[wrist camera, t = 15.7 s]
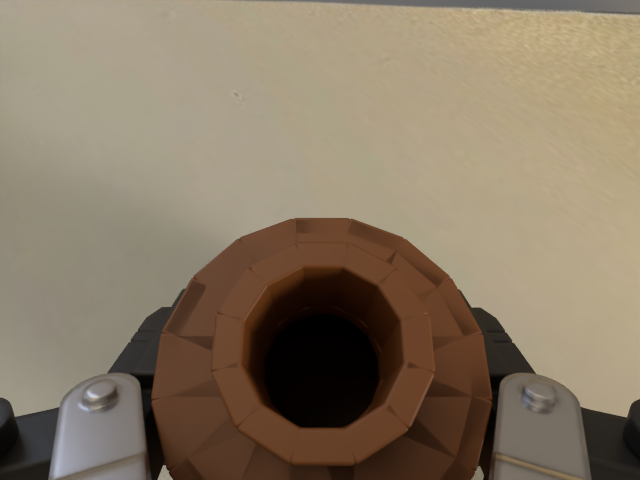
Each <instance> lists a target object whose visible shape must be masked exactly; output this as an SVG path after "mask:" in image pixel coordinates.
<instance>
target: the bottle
mask: <svg viewBox="0 0 640 480" xmlns="http://www.w3.org/2000/svg"><path fill="white" fill-rule="evenodd" d="M481 333H482V332H481V329H480V328H479V326H478V324H477V322H476V321H475V319H474V317H473V315H472V313H471V312H470V310H469V308H468V306H467V305H466V303H465V301H464V299H463V298H462V296H461V294H460V292H459V290H458V289H457V287H456V285H455V283H454V282H453V280H452V279H451V278H450V276H449V275H448V274H447V273H445V272H444V271H443V270H442V269H441V268H439V267H438V266H437V265H436V264H435V263H434V262H432V261H431V260H430V259H429V258H428V257H426V256H425V255H424V254H423V253H422V252H421V251H419V250H418V249H417V248H416V247H415V246H413V245H412V244H411V243H410V242H409V241H407V240H406V239H404V238H403V237H400V236H398V235H395V234H392V233H389V232H387V231H384V230H381V229H378V228H376V227H373V226H370V225H367V224H365V223H362V222H359V221H357V220H354V219H349V218H294V220H293V219H289V220H287V221H284V222H281V223H278V224H276V225H273V226H270V227H267V228H265V229H262V230H259V231H256V232H254V233H251V234H248V235H245V236H243V237H240V239H237V240H236V241H235V242H233V243H232V244H231V245H230V246H229V247H227V248H226V249H225V250H224V251H223V252H221V253H220V254H219V255H218V256H217V257H216V258H214V259H213V260H212V261H211V262H210V263H208V264H207V265H206V266H205V267H204V268H203V269H201V270H200V271H199V272H198V273H197V274H195V275H194V278H192V279H191V280H190V282H189V284H188V286H187V288H186V289H185V291H184V293H183V295H182V296H181V298H180V300H179V302H178V303H177V305H176V307H175V309H174V311H173V312H172V314H171V316H170V318H169V319H168V321H167V323H166V325H165V326H164V328H163V330H162V334H161V336H160V342H159V348H158V355H157V362H156V368H155V375H154V382H153V388H152V395H151V400H152V402H151V405H152V409H153V413H154V417H155V422H156V426H157V430H158V434H159V438H160V442H161V447H162V451H163V455H164V459H165V463H166V467H167V470H168V471H169V474H170V476H171V477H172V478H173V480H471V478H472V477H473V476H474V473H475V472H474V471H476V470H477V467H478V462H479V458H480V454H481V450H482V446H483V441H484V437H485V433H486V429H487V425H488V421H489V416H490V412H491V408H492V399H493V398H492V391H491V384H490V378H489V371H488V365H487V358H486V351H485V345H484V338H483V335H482V334H481Z"/></svg>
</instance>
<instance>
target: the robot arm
mask: <svg viewBox="0 0 640 480" xmlns="http://www.w3.org/2000/svg"><path fill="white" fill-rule="evenodd" d="M458 290H459V289H458ZM184 291H185V289H183V290H182V291H181V293H180V294H179V296H178V297H177V299H176V300H175V302H174V304H173V305H172V307H162V308H160V309H159V310H157V311H156V312H154V313H153V314H151V315H150V316H148V317H147V318H146V319H145V321H144V322H143V323H142V325H141V326H140V328H139V329H138V332H136V333H135V335H134V336H133V338H132V339H131V342H129V343H128V345H127V346H126V347H125V349H124V350H123V352H122V353H121V354H120V356H119V357H118V359H117V360H116V362H115V363H114V364H113V366H112V367H111V369H110V370H109V371H108V373H107V374H102V375H99V376H95V377H92V378H90V379H87V380H85V381H83V382H81V383H80V384H78V385H76V386H75V387H74V388H72V389H71V390H70V391H69V392H68V393H67V394H66V395H65V396H64V398H63V399H62V401H61V404H60V407H58V408H55V409H51V410H46V411H41V412H37V413H32V414H27V415H23V416H18V417H15V416H14V412H13V409H12V406H11V404H10V402H9V401H8V400H6V399H4V398H0V480H157V479H158V476H159V474H160V471H161V469H162V466H163V465H166V463H165V459H164V455H163V451H162V447H161V442H160V438H159V434H158V430H157V426H156V422H155V417H154V413H153V409H152V405H151V402H152V400H151V395H152V388H153V382H154V375H155V368H156V362H157V355H158V348H159V342H160V336H161V334H162V330H163V328H164V326H165V325H166V323H167V321H168V319H169V318H170V316H171V314H172V312H173V311H174V309H175V307H176V305H177V303H178V302H179V300H180V298H181V296H182V295H183V293H184ZM459 292H460V294H461V296H462V298H463V299H464V301H465V303H466V305H467V306H468V308H469V310H470V312H471V313H472V315H473V317H474V319H475V321H476V322H477V324H478V326H479V328H480V329H481V332H482V333H481V334H482V335H483V338H484V345H485V351H486V358H487V365H488V371H489V378H490V384H491V391H492V398H493V399H492V408H491V412H490V416H489V421H488V425H487V429H486V433H485V437H484V441H483V446H482V450H481V454H480V458H479V462H478V466H480V467H481V469H482V471H483V474H484V478H483V480H640V399H639V400H637V401H635V402H634V403H632V405H631V407H630V410H629V413H628V416H627V418H626V417H621V416H617V415H612V414H607V413H603V412H598V411H593V410H589V409H586V408H582V407H580V404H579V401H578V399H577V398H576V396H575V395H574V394H573V393H572V392H571V391H570V390H569V389H568V388H566V387H565V386H564V385H562V384H560V383H559V382H557V381H555V380H553V379H550V378H548V377H545V376H541V375H538V374H536V373H535V372H534V370H533V369H532V367H531V366H530V365H529V363H528V362H527V361H526V359H525V358H524V356H523V355H522V354H521V352H520V351H519V349H518V348H517V347H516V345H515V344H514V343H512V340H511V338H510V337H509V335H508V334H507V333H505V330H504V329H503V327H502V326H501V324H500V323H499V322H498V320H497V319H496V318H495V317H494V316H492V315H491V314H489V313H488V312H486V311H485V310H483V309H482V308H471V306H470V305H469V303H468V301H467V300H466V298H465V297H464V295H463V294H462V292H461V291H460V290H459Z"/></svg>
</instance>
